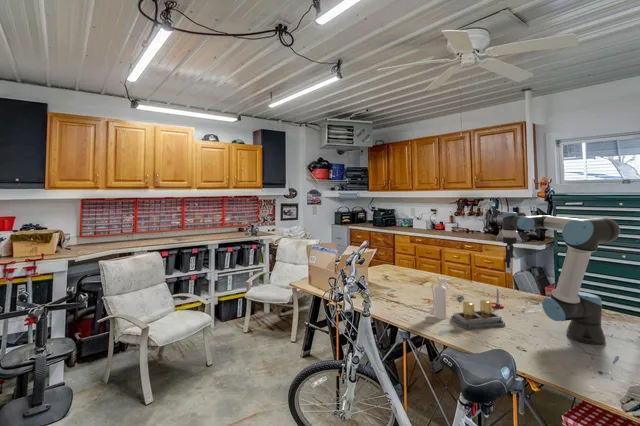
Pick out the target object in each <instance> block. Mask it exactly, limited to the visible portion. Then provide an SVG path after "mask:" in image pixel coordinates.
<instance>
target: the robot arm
mask: <svg viewBox="0 0 640 426" xmlns="http://www.w3.org/2000/svg"><path fill="white" fill-rule="evenodd" d="M518 229H519V230H525V231H531V230H533V229H544V230H553V231H560V232H561V235H562V239H563V240H564V242H565V245H566V247H567V250H566V254H565V257H564V261H563V263H562V267H561V271H560V273H559V277H558V281H557V284H556V288H555V289H554V288H553V289H552V290H551V291H550V295H549V296H546V297H545V298H543V299H542V301H541V306H542V309H543V311H544V313H545V315H546V316H547V317H548V318H549V319H550V320H552V321H554V322H566V321H570V322H569V324H568V327H567V328H566V335H567V337H569V338H570V339H572V340H574V341H577V342H580V343H583V344H589V345H597V346H598V345H604V344H605V343H606V341H607V340H606V335H605V334H604V330H603V328H602V315H603V314H602V313H603V312H602V311H603V304H602V297H600V296H598V295H596V294H592V293H591V292H590V293H589V292H585V291H584V292H583V291H580V289H581V286H582V284H583V283H582V282H583V280H584V276H585V274H586V270H587V268H588V264H589V262H590V258H591V254H592V253H594V252H597V251H598V248H599V245H600V244H607V243H612V242H614V241H615V240H617V239H618V237H619V236H620V234H621V227H620V225H619V224H618V223H617V222H616V221H615V220H614V219H611V218H607V217H597V218H594V217H593V218H575V217H574V218H573V217H564V216H563V217H562V216H552V215H549V214H548V215H546V214H543V215H518V213H517V212H515V211H504V212H503V213H502V243H503V244H506V245H505V260H504V263H505V273H506V274H511V273H512V269H514V258H516V257H515V256H514V244H517V243H518V241H517V239H518V238H517V236H518V235H517V234H518V233H519V231H517V230H518Z"/></svg>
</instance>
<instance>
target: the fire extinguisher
mask: <svg viewBox="0 0 640 426" xmlns="http://www.w3.org/2000/svg"><path fill="white" fill-rule="evenodd" d="M449 282H451V279H450V278H447V277H442V276H441V277H440V276H439V277H438V279H437V281H434V282H432V283H431V287H430V288H431V292H432V300H433V301H432V302H433V303H432V304H433V305H432V307H431V309H429V312H428V314H429V315H430V316H435V319H437V320H446V319H447V289H448V290H449V289H450V285H449V284H448V283H449ZM435 284H438V285H436V286H435V287H434V285H435ZM443 284H444V285H445V286H446V287H445V286H444V285H443Z"/></svg>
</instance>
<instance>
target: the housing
mask: <svg viewBox="0 0 640 426" xmlns="http://www.w3.org/2000/svg"><path fill="white" fill-rule="evenodd" d="M450 320H452V321H453V322H454V323H456V324H457V325H458V326H460V327H462V328H463V329H464V330H465V331H469V330H471V331H472V330H479V329H481V328H482V329H489V328H491V329H492V328H498V327H506V322H505V321H504V320H503V318H502V316H500V315H498V314H497V313H495V312H493V311H492V317H489V318H483V317H481V315H480V310H475V303H474V302H472V301H463V302H462V312H454V313H453V314H452V315H451V316H450Z"/></svg>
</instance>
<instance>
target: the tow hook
mask: <svg viewBox="0 0 640 426" xmlns="http://www.w3.org/2000/svg"><path fill="white" fill-rule="evenodd" d="M499 294H500V292H499V288H496V302H493V301H491V302H492V309H504V305H503V304H501V303H500V299H499V298H500V295H499Z"/></svg>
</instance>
